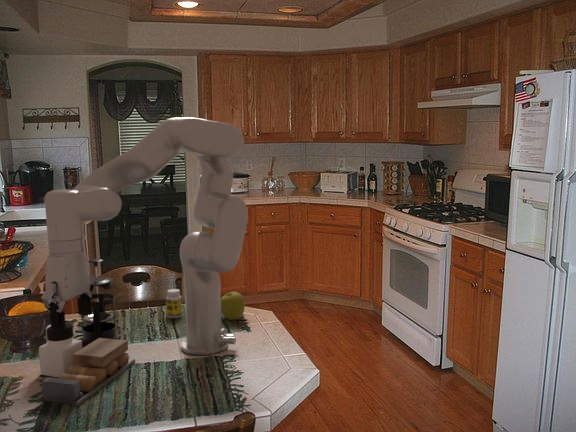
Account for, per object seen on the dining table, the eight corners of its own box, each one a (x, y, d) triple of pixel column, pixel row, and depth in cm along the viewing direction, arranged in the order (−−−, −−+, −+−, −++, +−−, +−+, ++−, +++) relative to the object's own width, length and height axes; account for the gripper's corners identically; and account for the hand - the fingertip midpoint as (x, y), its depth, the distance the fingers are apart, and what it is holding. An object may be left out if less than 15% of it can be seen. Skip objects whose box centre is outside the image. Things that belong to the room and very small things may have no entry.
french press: (115, 343, 155) (110, 262, 152) (79, 346, 153) (74, 264, 150) (119, 329, 166) (115, 254, 163) (86, 331, 165) (82, 255, 162)
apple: (250, 311, 180) (245, 284, 176) (240, 325, 173) (235, 298, 169) (228, 308, 182) (223, 282, 178) (217, 323, 176) (212, 296, 172)
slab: (128, 349, 140) (127, 340, 140) (103, 367, 130) (102, 357, 129) (99, 347, 142) (99, 337, 142) (73, 364, 132) (72, 354, 131)
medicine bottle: (84, 367, 139) (81, 320, 138) (64, 378, 133) (60, 330, 131) (60, 363, 142) (57, 318, 140) (40, 375, 135) (36, 327, 133)
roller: (56, 390, 125) (58, 373, 126) (65, 388, 129) (67, 372, 129) (87, 393, 124) (89, 377, 124) (96, 391, 127) (98, 375, 128)
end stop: (80, 400, 121) (79, 380, 121) (75, 404, 120) (74, 384, 119) (49, 396, 123) (47, 377, 123) (43, 400, 121) (41, 381, 121)
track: (135, 362, 142) (134, 349, 141) (77, 406, 119) (76, 390, 118) (100, 359, 144) (99, 346, 144) (37, 401, 121) (36, 385, 121)
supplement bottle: (164, 317, 177) (163, 292, 176) (170, 313, 182) (169, 288, 181) (178, 318, 176) (177, 292, 175) (184, 313, 181) (183, 288, 180)
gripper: (76, 238, 131) (80, 309, 133) (24, 253, 114) (31, 333, 117) (104, 239, 129) (108, 311, 132) (56, 255, 113) (62, 336, 115)
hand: (72, 321), depth 124 cm, fingers open, 9 cm apart
